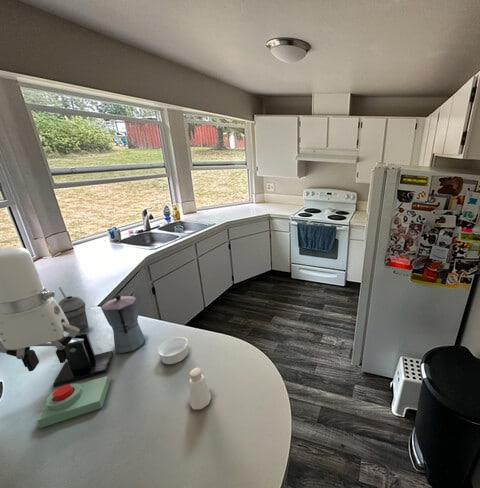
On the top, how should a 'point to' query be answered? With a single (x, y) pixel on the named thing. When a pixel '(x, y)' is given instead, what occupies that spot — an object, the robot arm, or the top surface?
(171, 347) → the ramekin
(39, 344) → the lever
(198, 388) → the pepper shaker
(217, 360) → the top surface
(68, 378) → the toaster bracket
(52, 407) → the control block
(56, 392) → the stop button
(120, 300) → the moka pot
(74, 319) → the beverage cup
